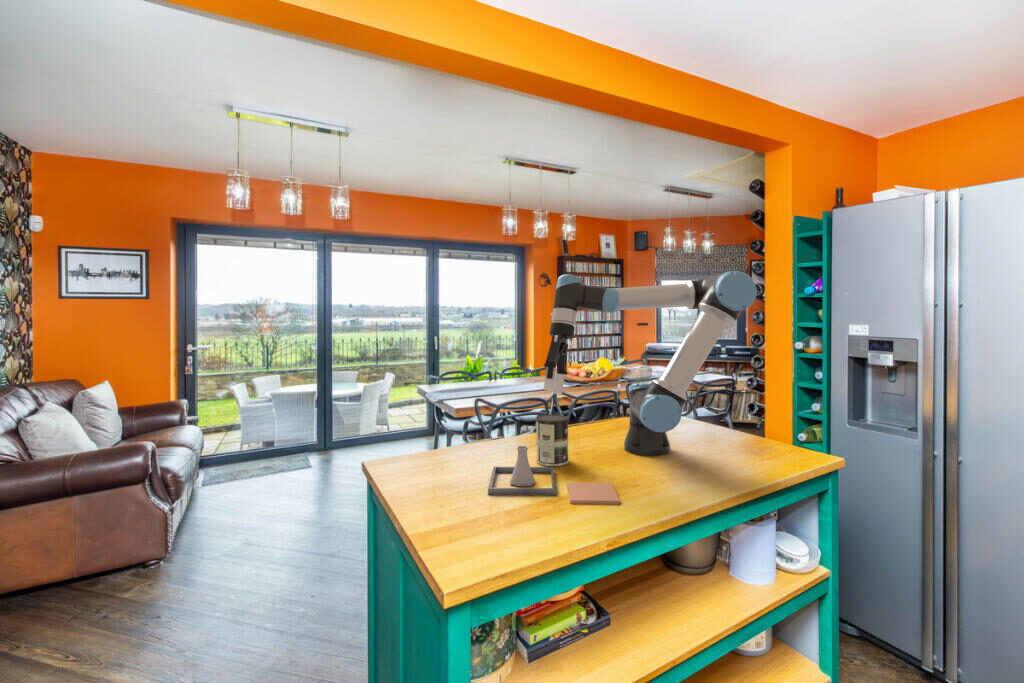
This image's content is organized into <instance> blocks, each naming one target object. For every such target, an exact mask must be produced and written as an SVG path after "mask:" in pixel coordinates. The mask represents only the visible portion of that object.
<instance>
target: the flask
mask: <svg viewBox="0 0 1024 683" xmlns="http://www.w3.org/2000/svg"><path fill="white" fill-rule="evenodd" d="M516 450H517V456H516V461H515V466H514V467H515V468H514V471H513V473H511V477H510V479H509V480H510V481H509V483H510V485H511V486H516V487H532V486H533V485H534V484H536V479H535V476H534V475H533V474H534V473H532V471H531V468H530V467H531V466H530V463H529V457H528V450H529V447H528V446H527V445H519V446H516Z"/></svg>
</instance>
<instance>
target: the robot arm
mask: <svg viewBox="0 0 1024 683" xmlns="http://www.w3.org/2000/svg"><path fill="white" fill-rule="evenodd" d="M755 282H756V281H754V279H753V278H752V277H751V276H750V275H749V274H748V273H745V272H743V271H737V270H729V271H725V272H722V273H719V274H716V275H711V276H709V277H705V278H701V279H693V280H688V281H687V282H685V283H680V284H677V283H676V284H663V285H661V284H660V285H649V286H633V287H632V286H631V287H614V288H610V287H604V286H595V285H587V284H582V279H581V277H580V276H577V275H574V274H569V273H568V274H567V273H566V274H562V275H560V276H559V277H558V278H557V282H556V286H555V293H554V299H553V307H552V312H550V316H551V322H552V323H550V325H549V326H550V327H549V336H551V341H550V346H549V349H548V352H547V357H546V360H545V363H544V364H543V366H544V368H546V371H545V377H544V378H545V379H544V385H543V390H544V391H549V392H552V394H553V395H558V396H562V395H563V389H564V383H565V376H567V375H568V372H567V368H568V366H567V365H568V349H569V344H568V343H567V340H571V339H573V338H574V336H575V329H576V328H575V326H576V323H577V315H578V309H582V310H587V311H589V313H596V312H603V313H611V314H613V313H616V311H629V310H648V309H666V308H667V309H668V308H682V307H683V308H684V307H685V308H687V309H688V310H699V313H698V315H697V316H696V317H695V319H694V321H693V322H692V324H691V326H690V327H689V329H688V331H687V333H686V334H685V336H684V337H683V339H682V341H681V342H680V344H679V346H678V348H677V349H676V351H675V352H674V354H673V356H672V357H671V359H670V360H669V362H668V364H667V366H666V367H665V368H664V371H663V372H662V374H661V376H660V377H659V378H655V379H652V380H651V382H650V383H640V382H639V383H631V385H630V386H629V391H628V394H629V427H628V429H627V433H626V436H625V438H624V439H625V440H624V441H623V443H624V444H623V448H624V450H625V451H626V452H628V453H631V454H634V455H638V456H647V457H659V456H665V455H668V454H669V453H670V452H671V444H670V441H669V438H668V434H667V432H669V431H672V430H674V429H675V428H676V427H677V426H678V425H679V423H680V422H681V419H682V415H683V414H682V408H684V405H685V404H686V402H687V401H688V398H687V394H686V392H687V390H688V389H689V387H690V385H691V383H692V382H693V380H694V379H695V378H696V376H697V374H698V373H699V371H700V369H701V368H702V366H703V365H704V363H705V361H706V360H707V358H708V357H709V354H710V353H711V351H712V350H713V348H714V346H715V345H716V344H717V341H718V340H719V339H720V337H721V335H722V334H723V332H724V330H725V328H726V327H727V326H729V325H730V324H734V323H735V322H736V321H737V319H738V318H739V316H740V315H741V313H742V311H744V310H746V309H748V308H750V306H752V305H753V304H754V302H755V300H756V297H757V295H758V294H757V293H758V292H757V291H758V290H757V287H756V283H755Z"/></svg>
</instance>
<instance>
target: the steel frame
mask: <svg viewBox="0 0 1024 683" xmlns="http://www.w3.org/2000/svg"><path fill="white" fill-rule="evenodd" d="M514 468H515V466H493V468H492V472H491V475H490V480H489V484H488V488H487V495H489V496H490V495H492V496H493V495H496V496H497V495H498V496H500V495H501V496H504V495H505V496H506V495H507V496H512V495H513V496H515V495H516V496H557V485H556V478H555V472H554V466H530V468H531V471H532V474H550V481H551V488H549V487H544V488H543V487H494V485H495V480H496V474H497V473H503V474H504V473H507V474H508V473H511V474H513V471H514Z"/></svg>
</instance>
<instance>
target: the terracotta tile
mask: <svg viewBox="0 0 1024 683" xmlns="http://www.w3.org/2000/svg"><path fill="white" fill-rule="evenodd" d="M566 488H567V492H568V498H569V502H570V504H574V505H575V504H576V505H577V504H580V505H581V504H582V505H584V504H585V505H588V504H592V505H594V504H596V505H597V504H598V505H599V504H600V505H620V504H621V500H620V498H619V496H618V494H617V492H616V490H615V488H614V486H613V483H611V482H566Z"/></svg>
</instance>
